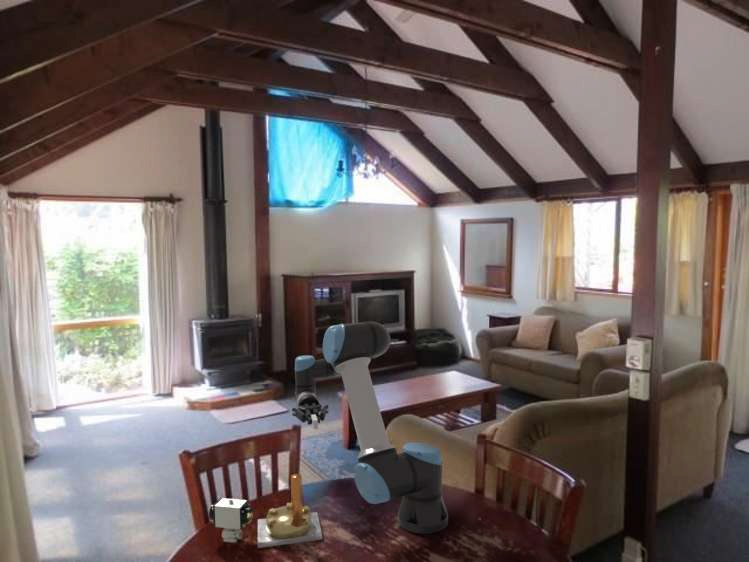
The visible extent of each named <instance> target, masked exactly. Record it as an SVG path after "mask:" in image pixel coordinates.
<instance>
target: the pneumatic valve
mask: <svg viewBox="0 0 749 562" xmlns="http://www.w3.org/2000/svg"><path fill="white" fill-rule="evenodd" d="M254 513H255V511H254V508H253V507H252V506H251V504H250V501H249V500H246V499H240V498H237V499H236V498H224V497H220V498H219V499H218V500H216V502H215V503H213V504H212V505H210V508H209V511H208V518H209V520H210V521H212V524H213V528H222V529H223V530H222V533H221V537H222V539H223V542H224V543H231V544H235V543H237V542H238V540H239V541H240V540H241V539H242V536H243V531H242V530H244V529H245V528H246V526H247V525H248V524H251V523H252V521H253V519H254Z"/></svg>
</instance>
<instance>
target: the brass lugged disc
mask: <svg viewBox="0 0 749 562" xmlns="http://www.w3.org/2000/svg"><path fill="white" fill-rule="evenodd" d="M302 481H303V479H302V474H300V473H293V474H292V475H291V476H290V489H291V491H290V493H291V494H290V495H291V497H290V498H291V502H287V503H286V505H283V506H279V507H277V508H273V507H272V508H270V509H269V510H268V512H267V513H268V514H267V515H266V529H267V532H268V533H269V534H270V535H271V536H274V537H277V538H292V537H297V536H300V535H302V534H304V533H305V532H307V531H308V530H309V529H310V527H311V513H312V512H311V510H310V509H311V507H309V506H308V505H305V506H303V482H302Z"/></svg>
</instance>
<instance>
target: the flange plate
mask: <svg viewBox="0 0 749 562" xmlns="http://www.w3.org/2000/svg"><path fill="white" fill-rule="evenodd" d="M320 540H323V533H322V528H321V523H320V519H319V514H318V512H317V511H314V512H311V527H310V529H309V530H308V531H307V532H305V533H304V534H302V535H300V536H297V537H292V538H277V537H274V536H271V535H270V534H269V533H268V532H267V529H266V518H258V519H257V549H262V548H263V549H264V548H268V547H276V546H282V545H289V544H290V545H292V544H299V543H306V542H311V541H320Z"/></svg>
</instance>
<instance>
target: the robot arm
mask: <svg viewBox="0 0 749 562" xmlns="http://www.w3.org/2000/svg"><path fill="white" fill-rule="evenodd" d="M323 336H324V337H323V340H322V352H323V353H322V354H323V357H324V358H321V359H315V356H314V355H299V356H297V357H296V358H295V360H294V375H295V377H294V378H295V379H294V380H295V392H294V395H295V396H294V398H295V402H296V404H297V408H296V407H292V409H291V414H292V416H293V417H296V418H297V419H298V420H299V421H300V422H301V423H306V422H307V425H308V426H311V425H312V429H313V430H316V429H317V430H318V429H319V424H320V423H321V422H323V421H325V418H326V415H327V414H329V404H325V405H321V404H320V402H319V399H318V397H317V395H316V393H317V392H316V381H317V380H318V381H319V380H324V379H330V378H336V377H337V378H338V377H339V378H340V377H341V379H342V383H343V388H344V390H345V393H346V394H345V395H346V399H347V402H348V407H349V409H350V413H351V418H352V423H353V425H354V429H355V432H356V433H355V434H356V437H357V441H358V444H359V448H360V451H359V454H358V456H357V462H358V463H357V464H356V465H355V466H354V470H353V473H354V475H353V477H354V482H355V485H356V489H357V490H358V492H359V494H360V496H361V497H362V498H363V499H364V500H365V501H366V502H367V503H369V504H371V505H377V504H382V503H387V502H389V501H392V500H395V499H399V498H401V497H402V500H401V501H400V506H399V509H398V512H397V519H398V520H397V522H398V524H399V526H400V527H401V528H402V529H404V530H406V531H407V532H410V533H414V534H420V535H430V534H431V535H432V534H435V532H436V533H439V532H441V531H443V530H444V529H446V527H447V526H448V525H449V513H448V510H447V507H446V503H445V501H444V498H443V479H442V478H443V477H442V475H443V460H442V452H441V451H440V449H439V448H438V447H436V446H435V445H432V444H430V443H429V444H428V443H424V442H416V441H415V442H407V443H405V444H403V447H402V449H401V450H402V452H401V453H398V451H397V448H396V446H395V445H393V444H391V443H390V441H389V439H388V435H387V431H386V428H385V424H384V420H383V417H382V413H381V411H380V406H379V402H378V398H377V394H376V392H375V391H376V390H375V388H374V385H373V381H372V378H371V374H370V370H369V364H370V363H371V360H372V359H376V358H379V357H380V356H382V355H383V354H385V353H386V352H387V351H388V349H389V348H390V345H391V335H390V333H389V330H388V329H387V328H386V327H385V326H383V324H381V323H379V322H377V321H362V322H352V323H340V324H335V325H331V326H329V327H328V328H327V329H326V330H325V333H324V335H323ZM319 413H320V414H319Z"/></svg>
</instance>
